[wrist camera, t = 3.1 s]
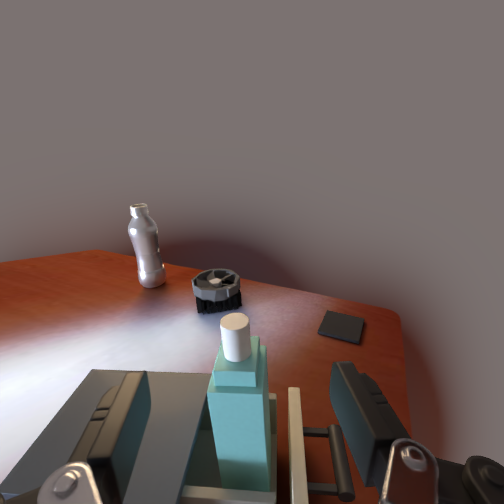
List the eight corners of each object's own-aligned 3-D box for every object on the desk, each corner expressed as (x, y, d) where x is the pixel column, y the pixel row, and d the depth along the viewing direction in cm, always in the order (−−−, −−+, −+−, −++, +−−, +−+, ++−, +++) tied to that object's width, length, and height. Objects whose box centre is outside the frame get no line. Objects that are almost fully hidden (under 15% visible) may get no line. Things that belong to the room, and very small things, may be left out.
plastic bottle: (173, 279, 72) (159, 202, 65) (156, 293, 67) (139, 210, 59) (152, 277, 75) (137, 201, 67) (134, 289, 69) (115, 208, 61)
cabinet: (219, 425, 35) (212, 373, 32) (189, 567, 24) (174, 508, 21) (109, 419, 37) (91, 369, 34) (30, 550, 25) (-7, 492, 22)
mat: (364, 321, 53) (364, 318, 53) (358, 344, 48) (359, 341, 48) (326, 312, 57) (327, 310, 56) (317, 333, 51) (317, 330, 51)
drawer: (333, 431, 33) (337, 389, 31) (358, 569, 23) (368, 522, 20) (187, 423, 35) (179, 382, 32) (148, 548, 24) (132, 501, 22)
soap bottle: (271, 448, 31) (264, 302, 23) (269, 506, 26) (260, 344, 19) (233, 446, 31) (214, 302, 24) (224, 503, 26) (198, 344, 19)
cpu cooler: (191, 270, 64) (235, 265, 66) (194, 292, 66) (236, 286, 68) (192, 293, 54) (243, 286, 56) (195, 318, 57) (245, 310, 58)
